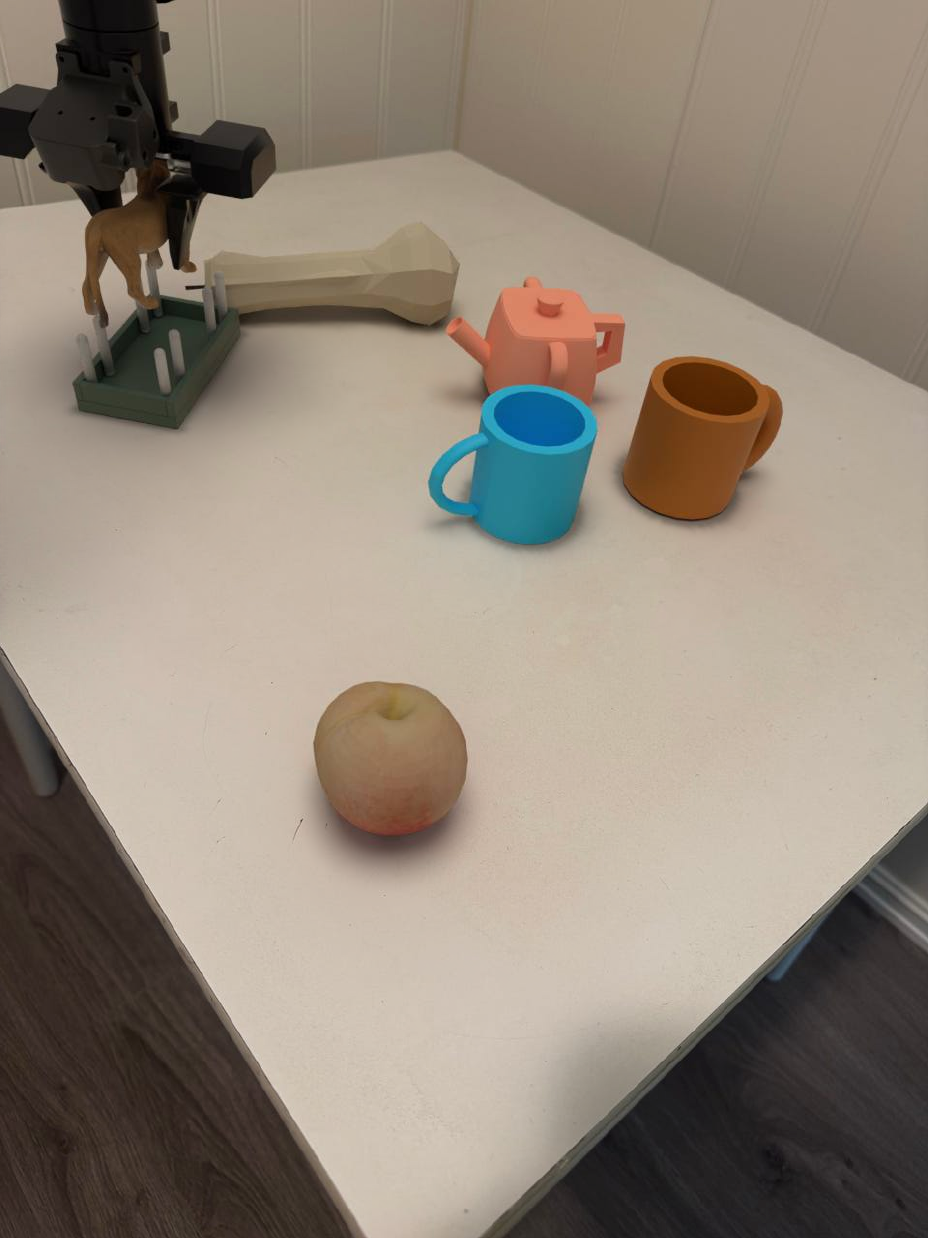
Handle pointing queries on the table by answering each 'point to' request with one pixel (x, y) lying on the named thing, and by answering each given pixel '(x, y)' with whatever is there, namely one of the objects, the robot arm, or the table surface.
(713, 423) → the mug
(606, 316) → the teapot
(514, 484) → the mug
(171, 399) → the drying rack
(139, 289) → the lion figurine
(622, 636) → the table surface
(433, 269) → the faceted club
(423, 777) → the fruit
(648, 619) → the table surface
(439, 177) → the table surface
